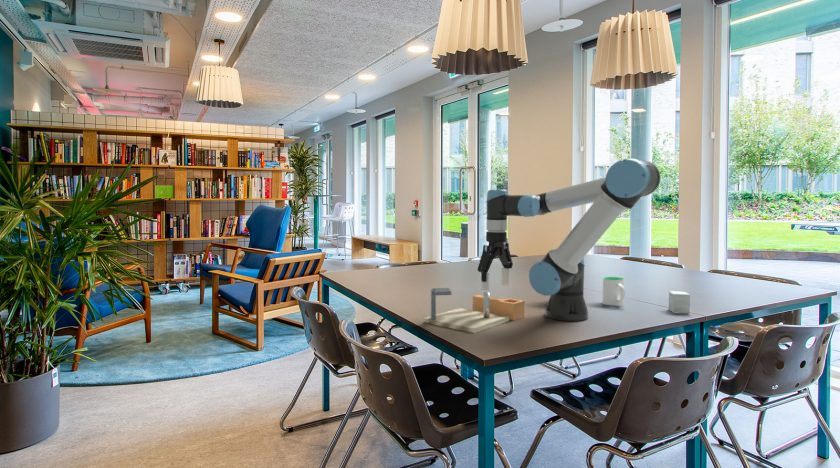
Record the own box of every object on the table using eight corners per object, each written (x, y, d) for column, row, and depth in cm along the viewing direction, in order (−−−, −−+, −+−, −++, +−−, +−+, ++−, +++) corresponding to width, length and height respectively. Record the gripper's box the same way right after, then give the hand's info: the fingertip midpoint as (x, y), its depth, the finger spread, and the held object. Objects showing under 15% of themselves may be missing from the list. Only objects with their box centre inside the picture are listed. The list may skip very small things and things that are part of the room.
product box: (668, 309, 200) (668, 290, 200) (685, 310, 199) (685, 291, 198) (672, 313, 194) (673, 293, 194) (689, 313, 193) (690, 294, 192)
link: (524, 316, 189) (524, 300, 189) (514, 320, 184) (514, 303, 184) (480, 309, 202) (480, 294, 202) (470, 312, 197) (470, 296, 197)
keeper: (448, 315, 185) (448, 287, 184) (451, 320, 178) (451, 291, 177) (430, 316, 185) (430, 288, 184) (431, 321, 178) (431, 291, 177)
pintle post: (490, 317, 182) (491, 292, 182) (487, 318, 181) (487, 293, 180) (485, 316, 184) (485, 291, 183) (482, 317, 182) (482, 292, 182)
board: (509, 321, 183) (509, 316, 183) (474, 333, 168) (474, 328, 168) (459, 311, 198) (459, 308, 198) (423, 322, 182) (423, 318, 182)
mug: (633, 307, 204) (633, 281, 204) (614, 308, 203) (615, 282, 202) (616, 301, 216) (616, 276, 215) (598, 301, 215) (599, 277, 214)
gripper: (505, 228, 203) (504, 282, 205) (468, 232, 184) (467, 291, 186) (522, 229, 198) (521, 284, 200) (485, 233, 179) (484, 294, 181)
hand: (495, 287), depth 193 cm, fingers open, 13 cm apart
